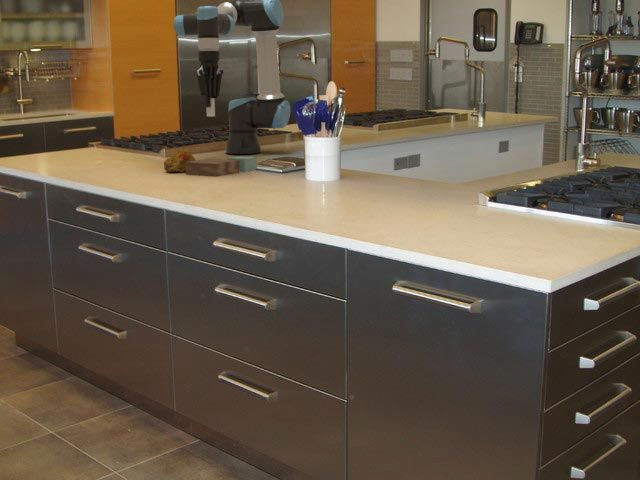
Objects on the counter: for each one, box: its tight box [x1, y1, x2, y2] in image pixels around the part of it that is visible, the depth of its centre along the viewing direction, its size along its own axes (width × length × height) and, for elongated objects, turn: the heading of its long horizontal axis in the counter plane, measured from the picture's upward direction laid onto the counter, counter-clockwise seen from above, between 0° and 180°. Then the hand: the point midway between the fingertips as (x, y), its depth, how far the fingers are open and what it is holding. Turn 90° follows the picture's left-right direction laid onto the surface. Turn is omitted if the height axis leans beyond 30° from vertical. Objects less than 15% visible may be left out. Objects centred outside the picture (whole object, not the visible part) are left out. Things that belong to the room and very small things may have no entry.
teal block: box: [226, 155, 258, 173], centre depth 339 cm, size 8×8×5 cm
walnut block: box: [185, 158, 240, 178], centre depth 328 cm, size 14×14×5 cm
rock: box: [163, 148, 196, 173], centre depth 335 cm, size 11×8×10 cm
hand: (210, 116), depth 325 cm, fingers closed
